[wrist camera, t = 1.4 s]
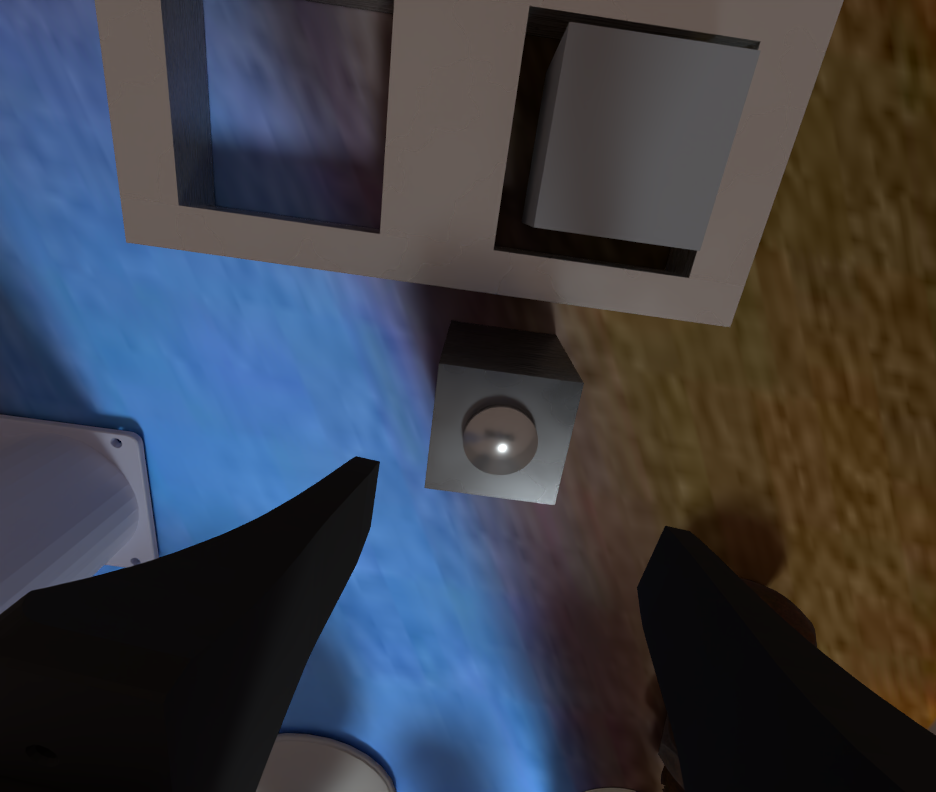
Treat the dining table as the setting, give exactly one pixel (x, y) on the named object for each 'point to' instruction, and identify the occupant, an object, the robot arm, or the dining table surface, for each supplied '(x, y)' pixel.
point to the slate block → (635, 135)
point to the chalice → (320, 767)
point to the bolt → (667, 745)
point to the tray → (458, 147)
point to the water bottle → (611, 790)
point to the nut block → (502, 413)
